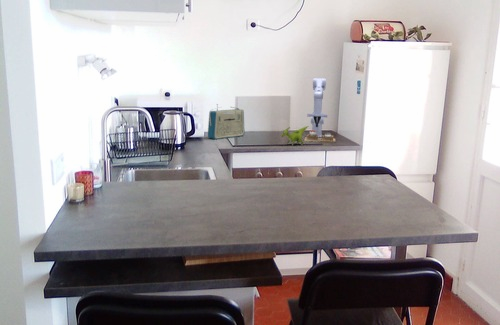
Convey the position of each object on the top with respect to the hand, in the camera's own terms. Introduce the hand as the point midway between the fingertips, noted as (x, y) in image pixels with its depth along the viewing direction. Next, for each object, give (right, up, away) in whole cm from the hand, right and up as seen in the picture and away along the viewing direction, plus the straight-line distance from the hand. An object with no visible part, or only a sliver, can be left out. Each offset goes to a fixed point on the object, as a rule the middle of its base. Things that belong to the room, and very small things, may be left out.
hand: (316, 126), depth 350 cm
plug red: (-3, -6, +2) cm, 7 cm away
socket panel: (+3, -10, +2) cm, 10 cm away
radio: (-66, -7, +7) cm, 67 cm away
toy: (-18, -14, -16) cm, 27 cm away
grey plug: (+8, -8, +1) cm, 12 cm away
